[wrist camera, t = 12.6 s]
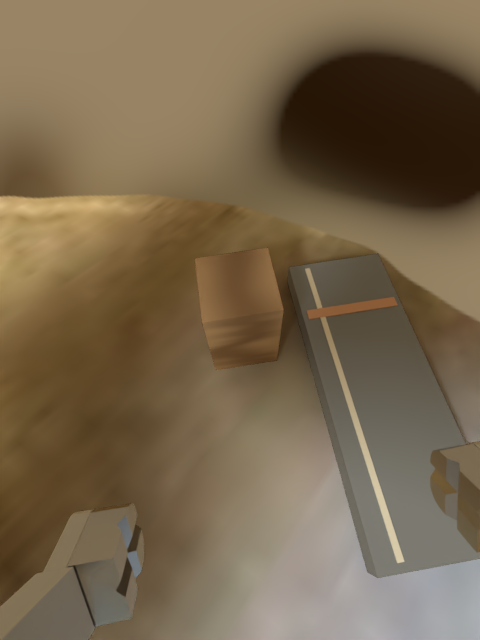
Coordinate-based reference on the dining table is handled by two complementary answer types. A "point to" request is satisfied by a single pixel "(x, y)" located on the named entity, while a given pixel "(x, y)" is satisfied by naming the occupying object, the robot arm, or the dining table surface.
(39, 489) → the dining table surface
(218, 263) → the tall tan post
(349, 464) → the board
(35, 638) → the robot arm
